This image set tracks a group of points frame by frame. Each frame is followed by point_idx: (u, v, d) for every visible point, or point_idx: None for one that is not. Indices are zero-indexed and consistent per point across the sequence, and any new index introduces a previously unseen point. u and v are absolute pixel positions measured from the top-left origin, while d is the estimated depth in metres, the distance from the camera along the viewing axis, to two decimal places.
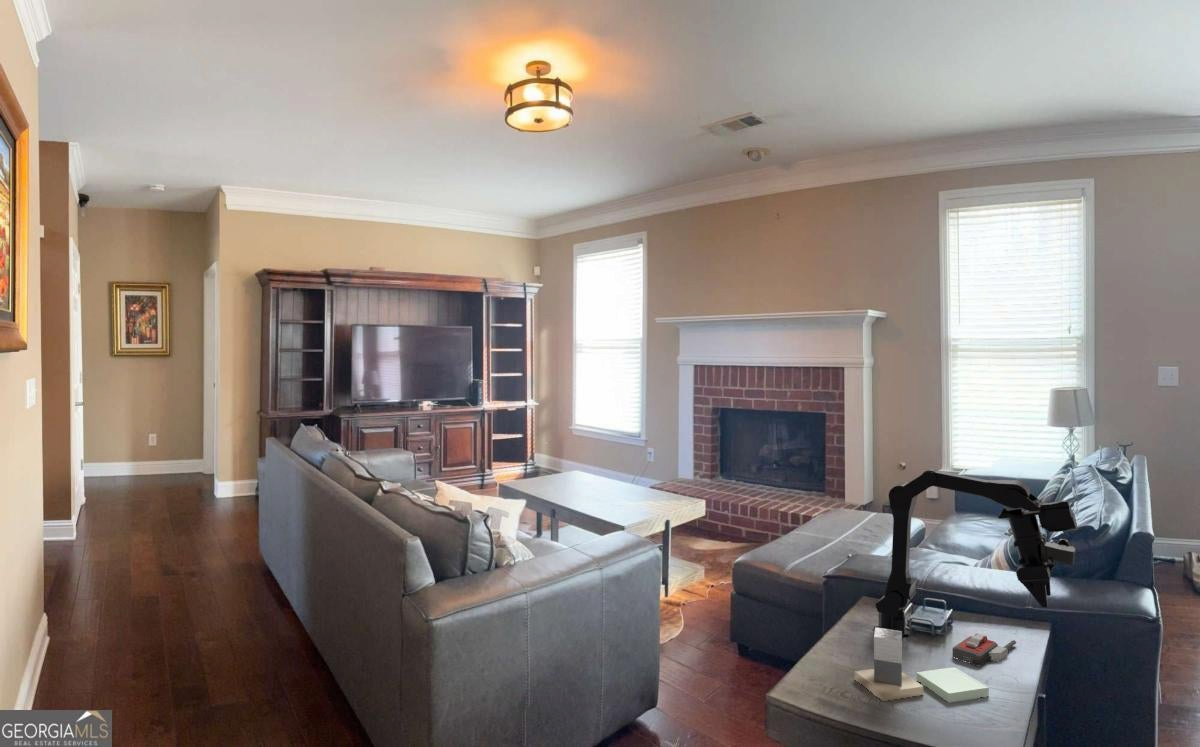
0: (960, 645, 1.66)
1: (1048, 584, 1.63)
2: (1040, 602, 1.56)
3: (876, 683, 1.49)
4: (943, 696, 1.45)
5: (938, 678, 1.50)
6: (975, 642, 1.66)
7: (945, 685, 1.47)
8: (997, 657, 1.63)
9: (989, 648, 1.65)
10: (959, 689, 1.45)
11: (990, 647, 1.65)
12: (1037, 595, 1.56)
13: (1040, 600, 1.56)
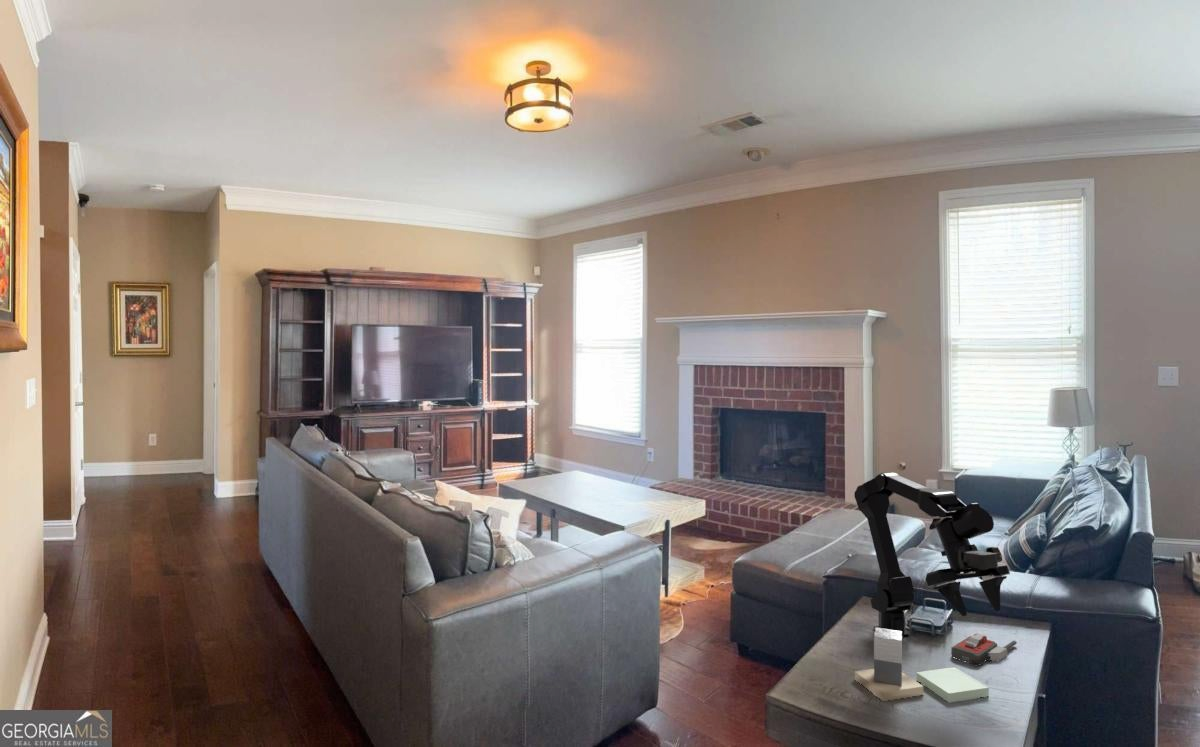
0: (959, 645, 1.66)
1: (995, 598, 1.54)
2: (959, 610, 1.52)
3: (876, 683, 1.49)
4: (943, 696, 1.45)
5: (938, 678, 1.50)
6: (974, 642, 1.66)
7: (945, 685, 1.47)
8: (996, 656, 1.63)
9: (988, 648, 1.65)
10: (959, 689, 1.45)
11: (989, 647, 1.65)
12: (954, 603, 1.52)
13: (958, 608, 1.52)
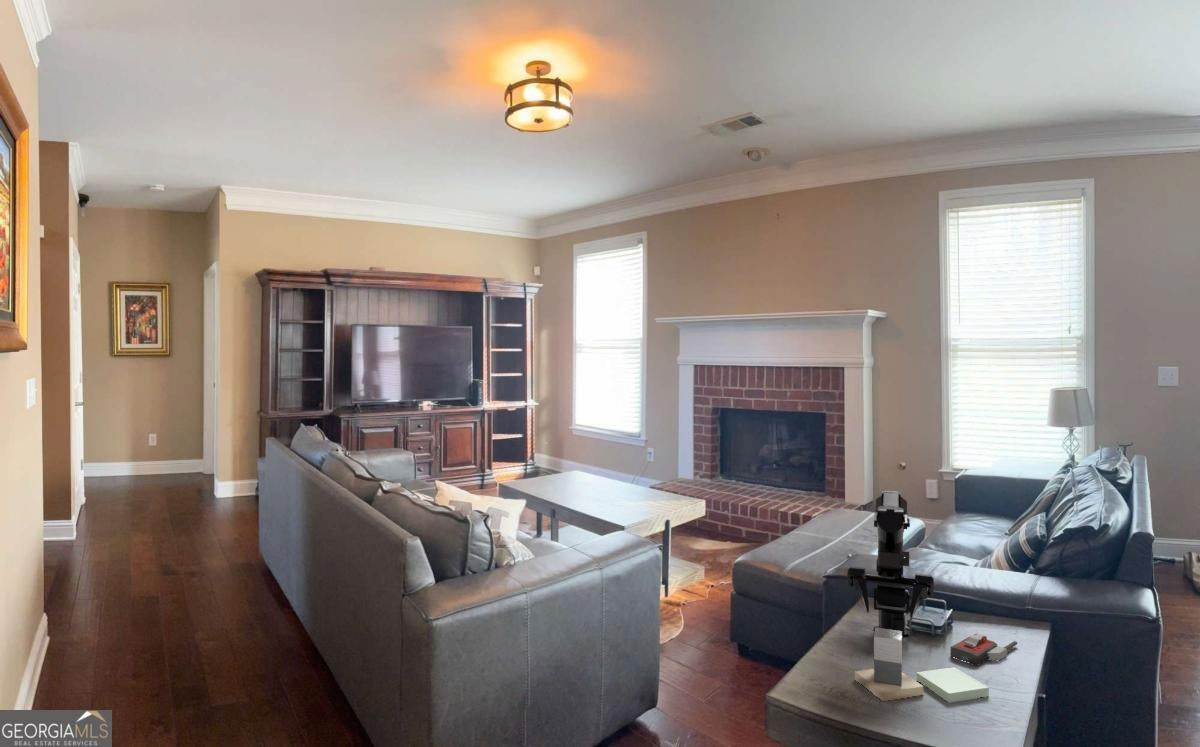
0: (958, 644, 1.66)
1: (910, 605, 1.57)
2: (865, 607, 1.61)
3: (876, 683, 1.49)
4: (943, 696, 1.45)
5: (938, 678, 1.50)
6: (974, 642, 1.66)
7: (945, 685, 1.47)
8: (996, 657, 1.63)
9: (988, 648, 1.65)
10: (959, 689, 1.45)
11: (989, 647, 1.65)
12: (863, 600, 1.62)
13: (865, 605, 1.61)
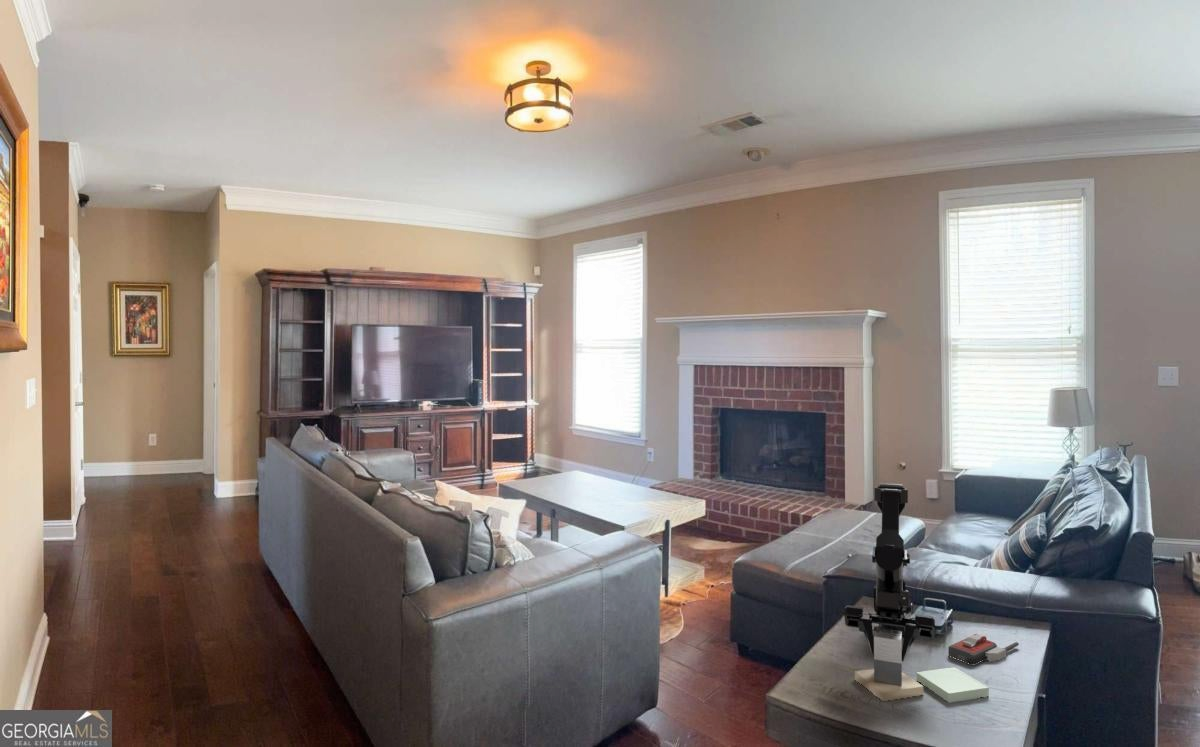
0: (956, 644, 1.66)
1: (902, 647, 1.49)
2: (871, 651, 1.52)
3: (876, 683, 1.49)
4: (943, 696, 1.45)
5: (938, 678, 1.50)
6: (972, 642, 1.66)
7: (945, 685, 1.47)
8: (994, 657, 1.63)
9: (986, 648, 1.65)
10: (959, 689, 1.45)
11: (988, 647, 1.65)
12: (869, 643, 1.53)
13: (870, 648, 1.52)
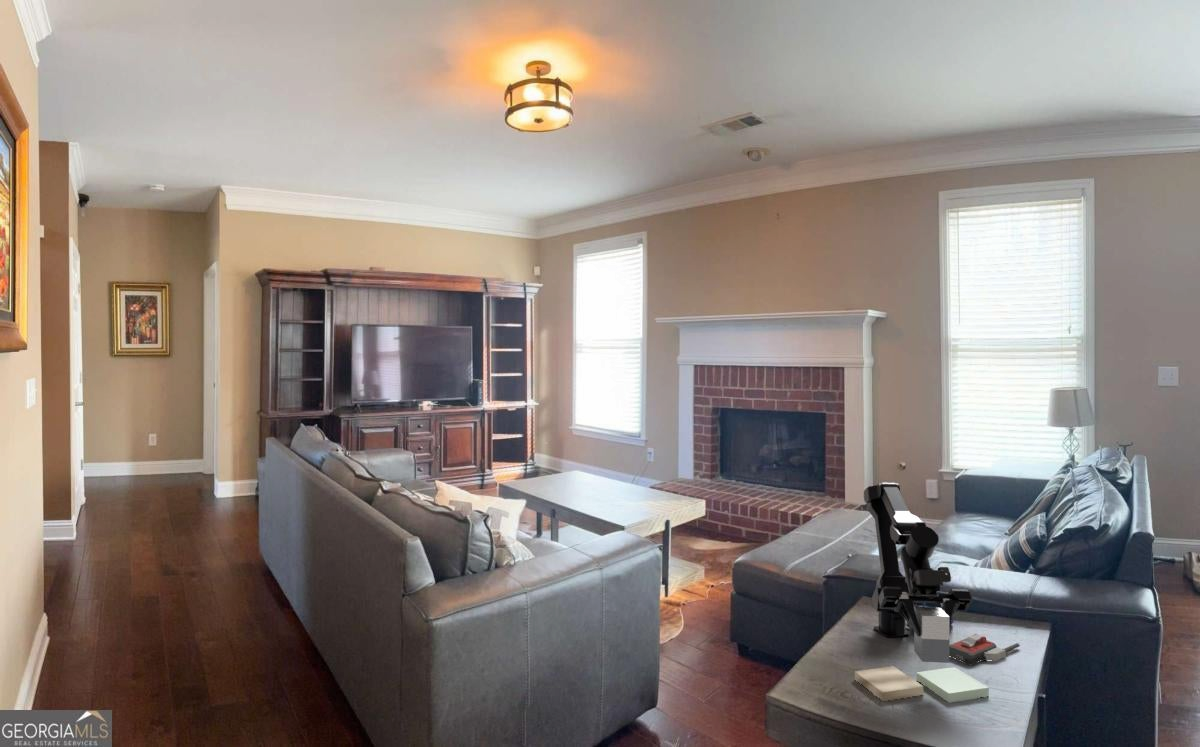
0: (955, 644, 1.67)
1: None
2: (914, 630, 1.50)
3: (876, 683, 1.49)
4: (943, 696, 1.45)
5: (938, 678, 1.50)
6: (971, 642, 1.66)
7: (945, 685, 1.47)
8: (993, 657, 1.63)
9: (985, 648, 1.65)
10: (959, 689, 1.45)
11: (987, 647, 1.65)
12: (910, 623, 1.51)
13: (913, 628, 1.50)
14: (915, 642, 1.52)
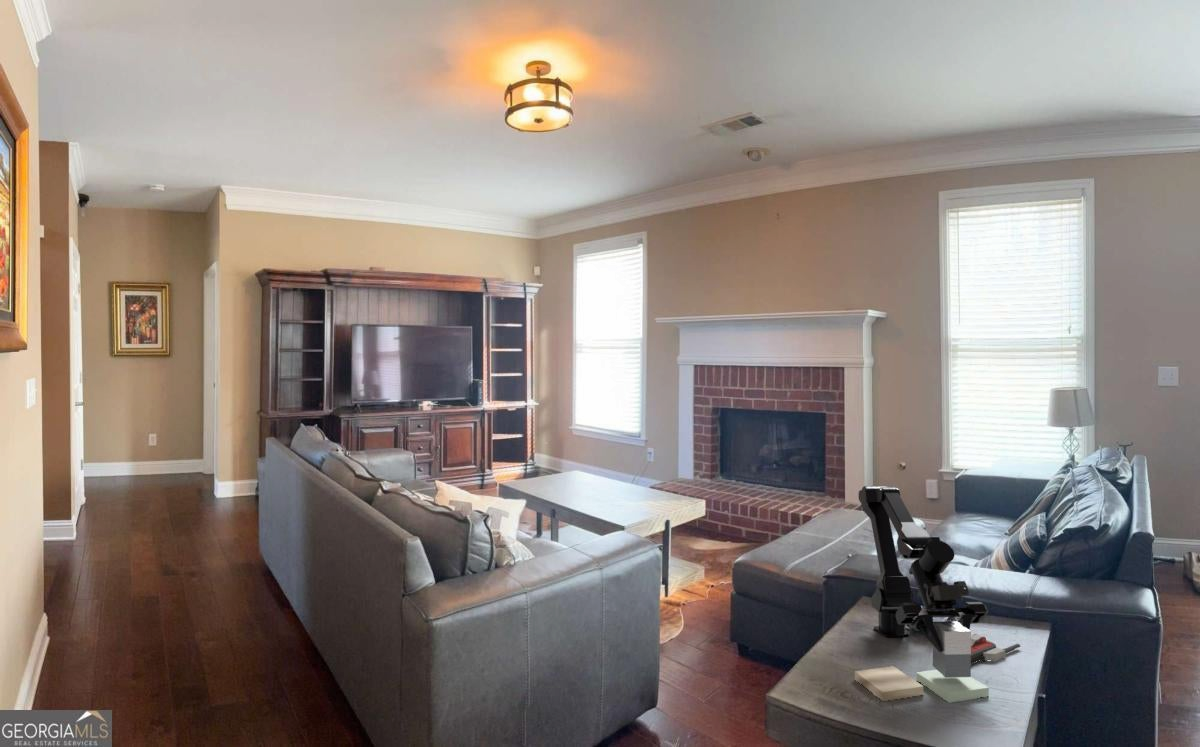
0: None
1: None
2: (935, 646, 1.50)
3: (876, 683, 1.49)
4: (943, 696, 1.45)
5: (938, 678, 1.50)
6: None
7: (945, 685, 1.47)
8: (992, 657, 1.63)
9: (984, 649, 1.65)
10: (959, 689, 1.45)
11: (986, 648, 1.65)
12: (930, 639, 1.51)
13: (934, 644, 1.50)
14: (934, 657, 1.52)
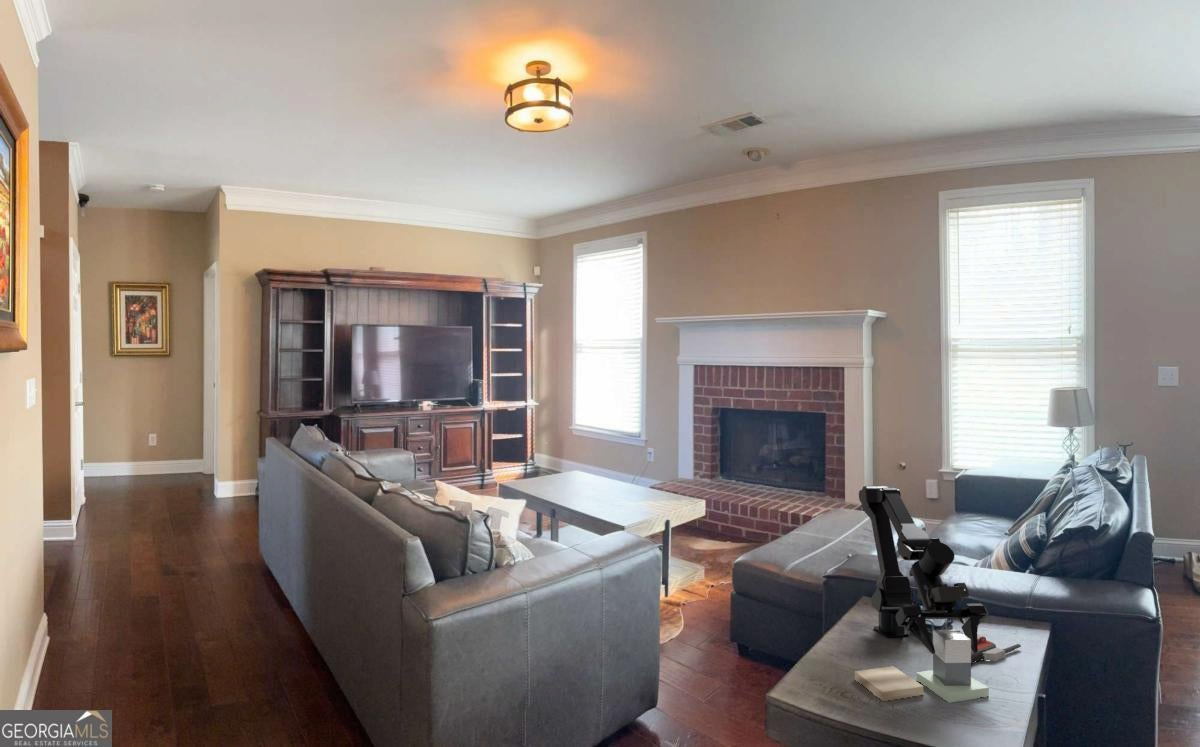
0: None
1: (972, 639, 1.50)
2: (928, 648, 1.50)
3: (876, 683, 1.49)
4: (943, 696, 1.45)
5: None
6: None
7: None
8: (991, 657, 1.63)
9: (984, 648, 1.64)
10: (959, 689, 1.45)
11: (986, 647, 1.65)
12: (923, 640, 1.51)
13: (927, 646, 1.50)
14: (934, 666, 1.52)
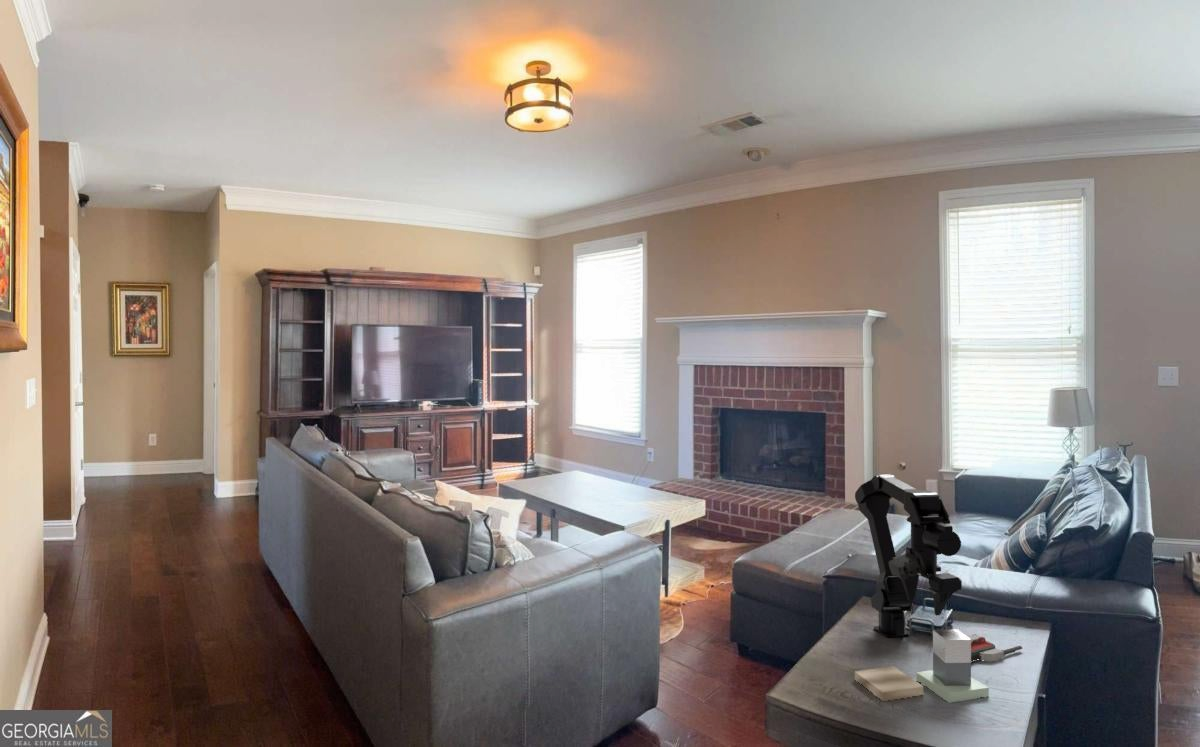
0: None
1: None
2: None
3: (876, 683, 1.49)
4: (943, 696, 1.45)
5: None
6: None
7: None
8: (989, 658, 1.63)
9: (982, 649, 1.64)
10: (959, 689, 1.45)
11: (984, 648, 1.65)
12: None
13: None
14: (934, 666, 1.52)
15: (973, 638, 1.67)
